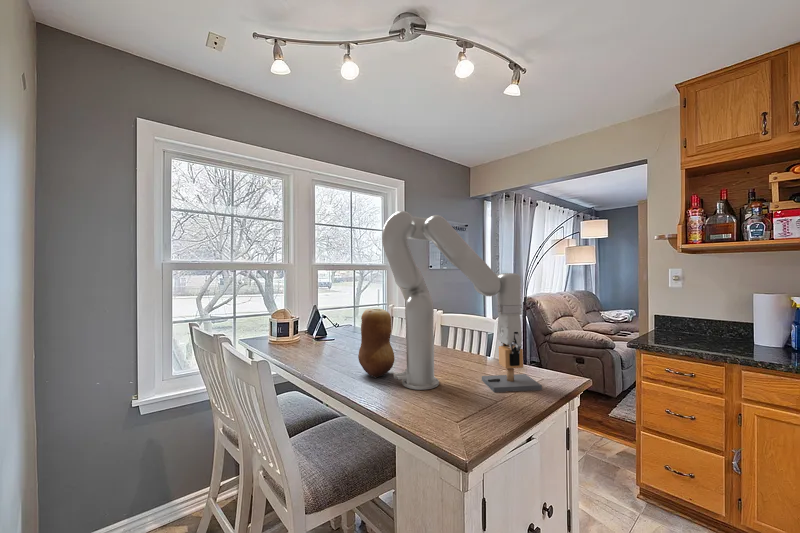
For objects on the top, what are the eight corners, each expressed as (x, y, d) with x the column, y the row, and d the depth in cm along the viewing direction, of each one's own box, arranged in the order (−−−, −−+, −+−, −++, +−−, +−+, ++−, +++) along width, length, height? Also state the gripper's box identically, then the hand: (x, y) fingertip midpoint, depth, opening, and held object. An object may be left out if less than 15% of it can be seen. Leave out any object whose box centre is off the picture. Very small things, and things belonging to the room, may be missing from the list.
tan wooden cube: (505, 368, 116) (505, 350, 116) (498, 363, 122) (498, 346, 122) (523, 367, 116) (522, 349, 116) (515, 362, 122) (515, 345, 122)
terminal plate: (493, 392, 112) (493, 375, 112) (481, 380, 124) (481, 364, 124) (541, 389, 114) (541, 372, 114) (525, 378, 126) (525, 362, 126)
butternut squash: (401, 375, 132) (400, 308, 132) (375, 383, 122) (374, 312, 122) (377, 368, 141) (376, 306, 141) (350, 375, 132) (349, 309, 132)
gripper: (489, 307, 127) (490, 357, 127) (508, 313, 110) (510, 370, 110) (509, 306, 128) (510, 356, 128) (531, 312, 111) (533, 369, 111)
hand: (510, 362), depth 119 cm, fingers closed on tan wooden cube, 5 cm apart
